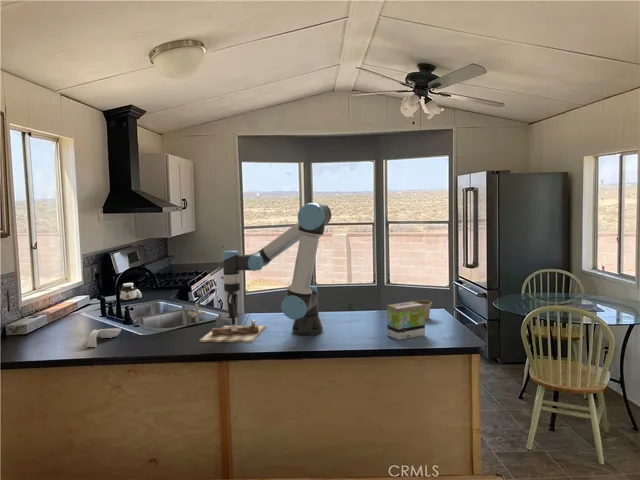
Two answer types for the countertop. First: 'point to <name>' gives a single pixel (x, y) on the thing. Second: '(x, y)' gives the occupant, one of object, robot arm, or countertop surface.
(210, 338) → the maple board
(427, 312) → the flower pot
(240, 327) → the brown streaked bar
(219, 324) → the keeper bracket
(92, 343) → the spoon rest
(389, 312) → the tea box
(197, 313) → the pipe connector
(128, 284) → the spread jar
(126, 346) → the countertop surface
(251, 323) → the pintle
